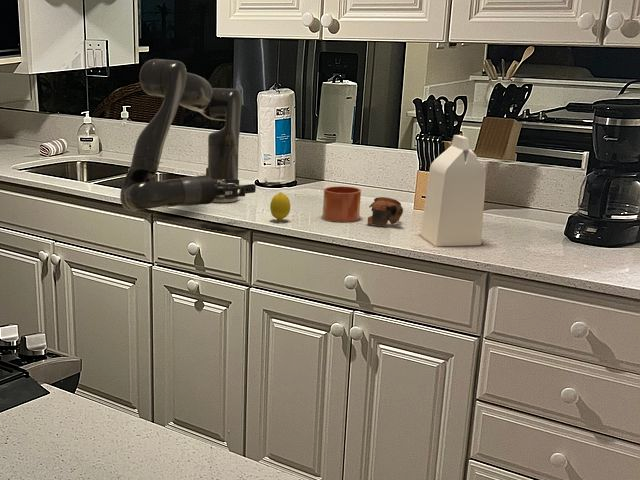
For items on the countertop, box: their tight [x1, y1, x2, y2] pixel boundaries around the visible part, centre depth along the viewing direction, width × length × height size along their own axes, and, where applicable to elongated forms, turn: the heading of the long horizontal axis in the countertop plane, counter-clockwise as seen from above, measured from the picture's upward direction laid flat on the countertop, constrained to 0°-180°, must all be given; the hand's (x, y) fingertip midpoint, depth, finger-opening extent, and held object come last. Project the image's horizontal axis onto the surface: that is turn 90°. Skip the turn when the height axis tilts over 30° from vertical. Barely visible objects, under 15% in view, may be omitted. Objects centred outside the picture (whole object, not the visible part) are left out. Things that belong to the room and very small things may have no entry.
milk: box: [419, 134, 487, 247], centre depth 235 cm, size 12×12×26 cm
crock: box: [321, 185, 362, 223], centre depth 263 cm, size 10×10×8 cm
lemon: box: [269, 192, 291, 222], centre depth 260 cm, size 6×6×8 cm
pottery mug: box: [367, 196, 404, 228], centre depth 256 cm, size 12×10×8 cm
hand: (246, 185), depth 253 cm, fingers open, 8 cm apart
